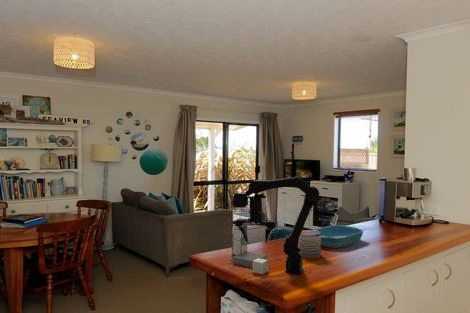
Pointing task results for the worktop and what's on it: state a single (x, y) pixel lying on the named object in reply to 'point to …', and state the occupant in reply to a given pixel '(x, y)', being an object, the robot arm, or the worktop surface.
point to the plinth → (247, 258)
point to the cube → (260, 266)
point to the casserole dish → (339, 235)
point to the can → (310, 243)
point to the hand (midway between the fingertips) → (256, 242)
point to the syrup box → (238, 241)
